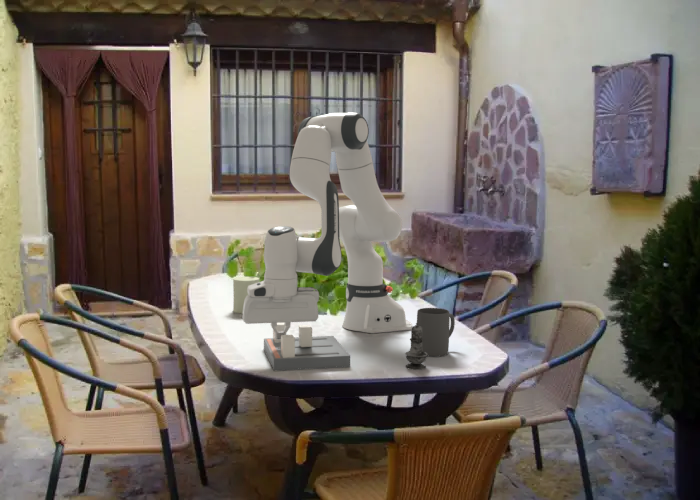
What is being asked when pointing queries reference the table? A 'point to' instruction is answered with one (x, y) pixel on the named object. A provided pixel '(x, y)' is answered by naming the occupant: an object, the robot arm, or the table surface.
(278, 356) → the breaker panel
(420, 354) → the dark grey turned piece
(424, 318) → the mug
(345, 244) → the robot arm
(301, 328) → the handle
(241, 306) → the can
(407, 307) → the table surface
